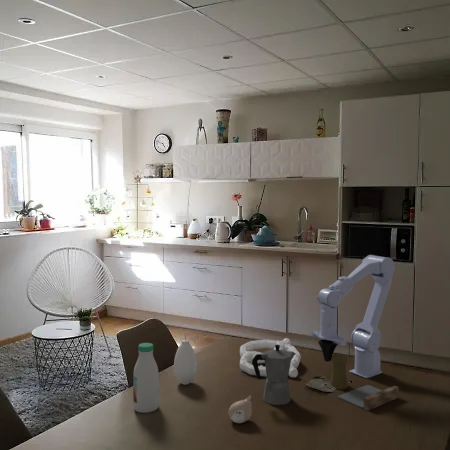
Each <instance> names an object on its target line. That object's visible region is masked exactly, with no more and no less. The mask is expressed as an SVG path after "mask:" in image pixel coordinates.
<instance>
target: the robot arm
mask: <svg viewBox="0 0 450 450" xmlns="http://www.w3.org/2000/svg"><path fill="white" fill-rule="evenodd" d="M395 270H396V265H395V263H394V260H393V259H392V258H391V257H390V256H389V257H388V256H387V257H385V256H379V255H374V254H369V255H367V256H365V257H364V258H363V259H362V260H361V264H359V265H358V266H356V268H355V269H354V270H353V271H352V272H351V273H349V275H348V276H344V275H343V276H339V277H338V278H337V279H338V280H336V281H335V282H333V283H332V284H330V285H329V286H328V287H327V288H323V289H321V290H320V291H319V293H318V295H317V296H316V298H317V299H316V300H317V302H318V303H319V308H320V317H319V319H320V322H319V323H320V329H319V330H315V329H313V330H311V332H310V334H311V335H310V336H311V337H314V338H315V337H316V338H317V339H319V340H318V345H319V346H320V347H319V348H321V349H320V350H321V352H322V355H323V358H324V359H323V360H324V361H325V362H327V363H328V362H332V356H333V355H334V352H335V350H336V348H337V346H338V345H339V346H341V347H345V346H347V339H346V338H343V337H341V336H340V335H338V334H337V333H338V306H340V304H341V302H342V300H343V298H344V297H345V296H346V295H348V294H349V293H350V292H351V291H353V289H354V285H355V284H356V283H357V282H359V281H360V280H362V279H363V278H365V277H366V276H368V275H370V276H371V277H372V279H373V280H374V286H373V288H372V292H371V296H370V298H369V301H368V303H367V307H366V311H365V314H364V317H363V319H362V322H360V323H358V324H356V325H355V328H354V330H353V331H352V333H351V334H350V342H351V344H352V345H353V348H354V368H353V369H350V370H349V373H352V374H354V375H357V376H358V377H359V376H360V377H362V378H365V379H369V378H372V377H375V376H378V375H380V374H383V371H382V370H381V353H380V351H379V348H380V346H381V337H382V332H381V331H380V329H379V328H378V326H379V323H380V319H381V316H382V314H383V310H384V307H385V304H386V301H387V298H388V294H389V293H390V292H389V291H390V288H391V285H392V281H393V275H394V272H395Z"/></svg>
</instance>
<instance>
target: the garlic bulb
mask: <svg viewBox="0 0 450 450" xmlns="http://www.w3.org/2000/svg"><path fill="white" fill-rule="evenodd" d="M251 398H252V396H251V394H249V395H248V396H247V397H245V398H244V399H240V400H238V401H235V402H234V403H232V404H231V405H230V407H229V409H228V412H227V413H228V416H229V418H230V420H231V421H233V422H234V423H236V424H242V423H245V422H247V421H249V420H250V419H251V418H252V417H251V416H252V413H253V404H252V402H251Z"/></svg>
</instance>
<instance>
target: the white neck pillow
mask: <svg viewBox="0 0 450 450" xmlns="http://www.w3.org/2000/svg"><path fill="white" fill-rule="evenodd" d="M291 344H292V342H291V339H289V338H288V337H285V338H283V340H279V339H277V340H274V339H267V338H266V339H263V338H262V339H257V340H251V341H247V342H246V343H244V344H242V345H240V347H239V356H240V360H239V368H240V370H242V371H243V372H245V373H247V374H248V375H250V376H256V373H255V370H254V367H253V364H252V359H253V358H254V357H255V355H257V354H263V353H264V352H260V351H256V350H261V349H270V350H276V348H275V345H280V348H279V350H284V351H292V352H294V353H296V354H295V355H294V357H293V358H292V360H291V363H290V369H289V375H288V377H290V378H293V379H294V378H297V377H298V375H299V371H298V369H297V368H298V367H299V364H300V362H301V358H302V355H301V354H300V352H299V351H298V350H297V349H296V347H295V346H294V345H291ZM257 363H258V364H260V365H258V368H259V370H260V376H264V377H266V378H267V375H266V367H265V366H264V365H263V364H261V363H264V364H265V360H258V361H257Z"/></svg>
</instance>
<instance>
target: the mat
mask: <svg viewBox="0 0 450 450" xmlns="http://www.w3.org/2000/svg"><path fill="white" fill-rule="evenodd" d="M380 391H382V389H380V388H377V387H375V386H373V385H370V384H366V385H364V386H361V387H358V388H356V389H353V390H350V391H347V392H345V393H343V394H339V395H337V398H338V399H340V400H343V401H344V402H347V403H349V404H351V405H353V406H356V407H357V408H361V409H364V398H365V397H368V396H370V395H372V394H375V393H377V392H380Z"/></svg>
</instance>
